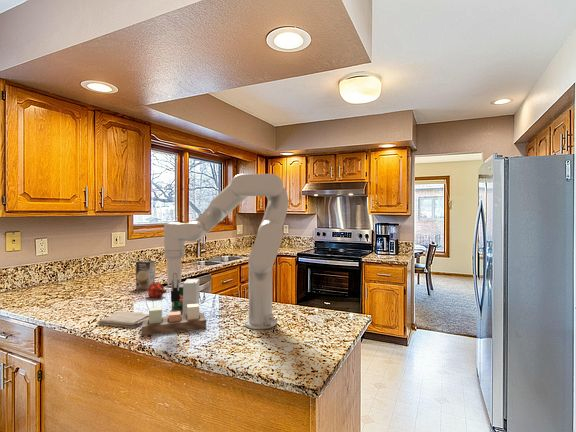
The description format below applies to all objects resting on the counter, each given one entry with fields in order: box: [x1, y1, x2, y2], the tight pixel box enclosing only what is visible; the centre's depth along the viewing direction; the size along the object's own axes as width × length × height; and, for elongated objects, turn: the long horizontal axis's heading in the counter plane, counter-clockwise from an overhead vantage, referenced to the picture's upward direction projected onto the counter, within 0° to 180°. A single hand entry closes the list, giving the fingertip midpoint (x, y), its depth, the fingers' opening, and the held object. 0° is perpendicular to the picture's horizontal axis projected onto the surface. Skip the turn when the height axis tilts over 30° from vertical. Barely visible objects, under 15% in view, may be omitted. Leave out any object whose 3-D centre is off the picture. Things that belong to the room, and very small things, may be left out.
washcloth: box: [98, 310, 149, 329], centre depth 136 cm, size 12×18×3 cm, turn 77°
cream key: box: [187, 303, 200, 320], centre depth 132 cm, size 4×4×5 cm
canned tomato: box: [171, 283, 183, 312], centre depth 155 cm, size 8×8×11 cm
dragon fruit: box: [146, 281, 167, 299], centre depth 176 cm, size 8×8×12 cm
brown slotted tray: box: [141, 312, 207, 336], centre depth 129 cm, size 23×10×3 cm, turn 110°
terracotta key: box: [168, 311, 182, 322], centre depth 129 cm, size 4×4×5 cm
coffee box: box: [135, 259, 156, 290], centre depth 197 cm, size 9×6×16 cm
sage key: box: [148, 306, 163, 324], centre depth 127 cm, size 4×4×5 cm
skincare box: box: [182, 278, 200, 315], centre depth 147 cm, size 8×6×15 cm
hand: (175, 300), depth 129 cm, fingers closed
